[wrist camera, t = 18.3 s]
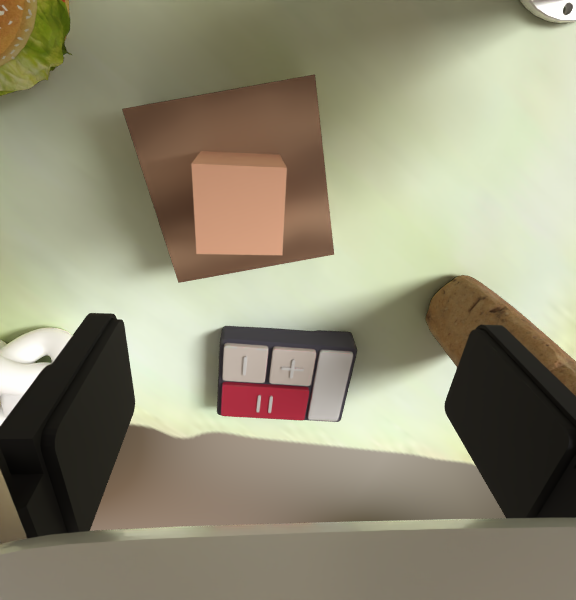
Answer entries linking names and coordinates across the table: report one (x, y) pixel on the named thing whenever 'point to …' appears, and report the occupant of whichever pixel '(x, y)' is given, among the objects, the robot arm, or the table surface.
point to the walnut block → (238, 139)
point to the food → (31, 41)
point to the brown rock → (490, 311)
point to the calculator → (284, 373)
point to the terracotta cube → (239, 203)
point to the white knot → (26, 363)
